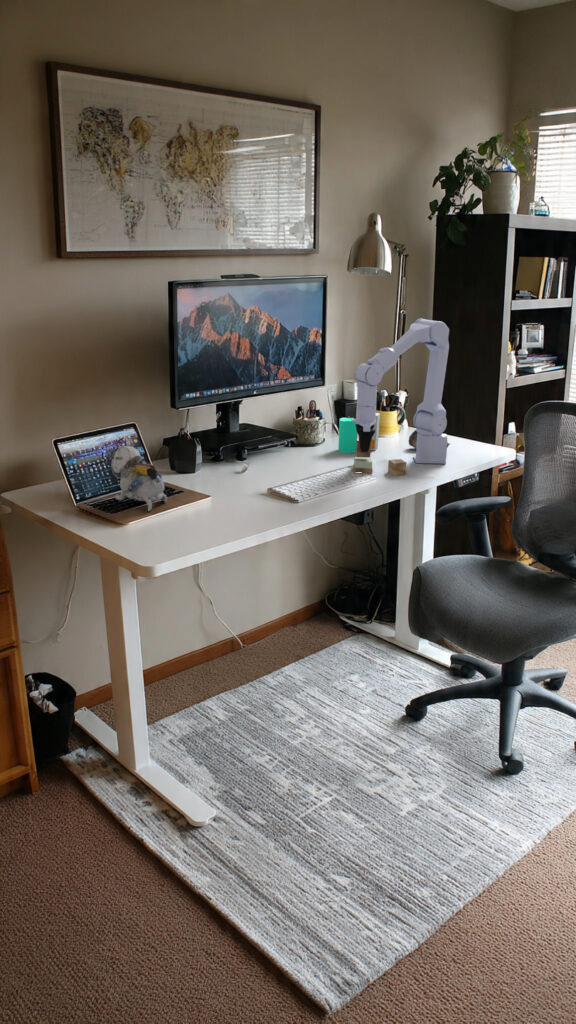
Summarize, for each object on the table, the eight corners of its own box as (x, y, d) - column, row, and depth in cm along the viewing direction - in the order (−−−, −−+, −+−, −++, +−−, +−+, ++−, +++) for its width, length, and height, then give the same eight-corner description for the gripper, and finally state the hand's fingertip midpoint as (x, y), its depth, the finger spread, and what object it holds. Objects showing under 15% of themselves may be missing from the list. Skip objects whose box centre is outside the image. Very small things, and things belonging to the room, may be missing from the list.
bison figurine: (406, 448, 282) (413, 454, 272) (408, 427, 280) (414, 433, 270) (441, 448, 283) (449, 455, 273) (443, 428, 281) (451, 433, 271)
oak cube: (399, 471, 254) (400, 459, 252) (405, 475, 250) (406, 462, 249) (387, 472, 253) (388, 459, 251) (393, 476, 249) (394, 463, 248)
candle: (356, 453, 273) (358, 417, 270) (338, 452, 274) (340, 416, 270) (355, 448, 279) (357, 413, 275) (337, 448, 279) (339, 412, 275)
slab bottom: (371, 470, 256) (371, 463, 256) (372, 475, 251) (372, 468, 250) (353, 469, 256) (353, 463, 256) (354, 474, 251) (354, 468, 251)
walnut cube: (369, 453, 254) (369, 441, 252) (370, 457, 250) (370, 444, 249) (356, 453, 254) (356, 440, 253) (356, 457, 250) (357, 444, 249)
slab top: (370, 464, 255) (370, 457, 255) (371, 468, 251) (372, 462, 250) (353, 463, 255) (354, 457, 255) (355, 467, 251) (355, 461, 250)
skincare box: (357, 449, 278) (359, 414, 274) (360, 446, 282) (362, 411, 278) (375, 451, 276) (377, 415, 272) (378, 448, 280) (380, 412, 276)
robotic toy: (134, 491, 230) (132, 438, 225) (178, 504, 220) (177, 449, 215) (97, 502, 221) (94, 446, 216) (141, 516, 210) (139, 458, 205)
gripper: (351, 399, 254) (350, 443, 258) (353, 409, 240) (351, 455, 245) (375, 400, 254) (372, 444, 258) (378, 410, 240) (375, 456, 244)
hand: (364, 449), depth 251 cm, fingers closed on walnut cube, 4 cm apart
